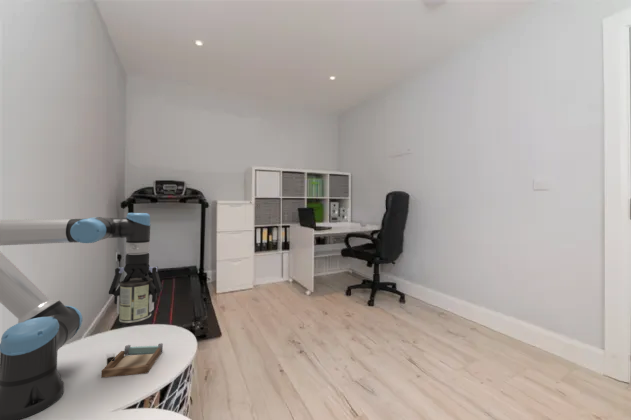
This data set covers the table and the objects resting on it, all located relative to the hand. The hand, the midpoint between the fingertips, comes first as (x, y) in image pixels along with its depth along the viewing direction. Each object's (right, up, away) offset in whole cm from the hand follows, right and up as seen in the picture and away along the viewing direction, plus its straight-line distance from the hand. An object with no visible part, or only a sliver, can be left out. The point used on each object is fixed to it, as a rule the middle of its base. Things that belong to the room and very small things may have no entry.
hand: (135, 311), depth 99 cm
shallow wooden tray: (0, -20, -1) cm, 20 cm away
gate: (-1, -19, +7) cm, 21 cm away
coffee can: (0, -3, 0) cm, 3 cm away
